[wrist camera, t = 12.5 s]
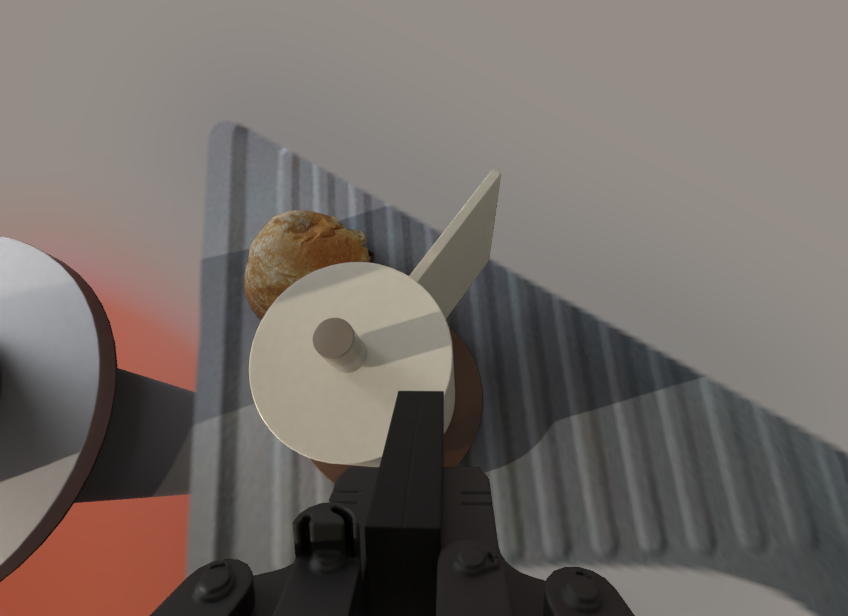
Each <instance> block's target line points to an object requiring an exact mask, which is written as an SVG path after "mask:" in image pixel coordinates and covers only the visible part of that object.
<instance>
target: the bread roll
mask: <svg viewBox="0 0 848 616" xmlns="http://www.w3.org/2000/svg"><path fill="white" fill-rule="evenodd" d="M366 241H367V238H366V237H365V235H364V232H361V231H359V230H350V229H348V228H345V226H344V225H342V224H339V222H338V220H337V219H336V218H335V217H334V216H327V215H324V214H320V213H316V212H312V211H289V212H285V213H281V214H278V215H276V216H275V217H273V218H272V219H271V220H270V221H269V222H268V223H267V224H266V225H265V226H264V227H263V229H262V230H261V231H260V233H259V234H258V235H257V236H256V238H255V239H254V241H253V243H252V245H250V250H249V257H248V259H249V262H248V263H247V264H246V270H245V277H244V282H245V294H246V298H247V300H248V303H249V305H250V307H251V309H252V310H253V311H254V313H255V314H256V315H257V316H258V318H259V319H261V320H262V319H263V317H264V316H265V314H266V312H267V311H268V309H269V308H270V307H271V305H272V304H273V303H274V302H275V300H276V299H277V298H278V297H279V296H280V295H281V294H282V293H283V292H284V291H285V290H286V289H287V288H289V287H290V286H291V285H292V284H294V283H295V282H296V281H298V280H300V279H301V278H303V277H304V276H306V275H308V274H310V273H312V272H314V271H316V270H319V269H322V268H325V267H328V266H331V265H336V264H341V263H349V262H368V263H372V261H373V258H374V253H373V252H371V251H369V250H368V249H367V247H363V246H364V244H365V243H366Z"/></svg>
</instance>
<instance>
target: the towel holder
mask: <svg viewBox="0 0 848 616" xmlns="http://www.w3.org/2000/svg"><path fill="white" fill-rule="evenodd" d="M449 330H450V335H451V339H452V347H453V362H454V381H455V406H454V411H453V415H452V418H451V422H450V424H449V426H448V428H447V430H446V432H445V434H444V467H457V466H458V464H459V463H460V462H461V461H462V460H463V458H464V457H465V455H466V454H467V452H468V451H469V449H470V447H471V445H472V443H473V441H474V439H475V436H476V434H477V431H478V428H479V424H480V420H481V414H482V406H483V393H482V383H481V379H480V374H479V371H478V368H477V365H476V363H475V360H474V358H473V356H472V354H471V353H470V351H469V349H468V348H467V346H466V345H465V343H464V342H463V341H462V339H461V338H460V337H459V336H458V335H457V334H456V333H455V332H454V331H453V330H452V329H451V328H449ZM312 343H313V347H314V349H315V351H316V352H317V353H318V354H319V355H320V356H321V357H322V358H324V359H325V360H326V361H327V362H328V363H330V364H331V365H332V366H333V367H334V368H335V369H337V370H338V371H340V372H344V373H350V372H354V371H356V370H358V369H359V368H360V367H361V366H362V365H363V364H364V362H365V360H366V357H367V349H366V346H365V344H364V343H363V341H362V340H361V339H360V337H359V336H358V335H357V333H356V332H355V330H354V329H353V328H352V326H351V325H350V324H349V323H348V322H347V321H345V320H344V319H341V318H329V319H326V320H324V321H322V322H321V323H320V324H319V325H318V326H317V327H316V329H315V330H314V333H313V337H312ZM310 459H311V458H310ZM311 461H312V462H313V463H314V465H315V466H316V467H317V468H318V469H319V470H320V471H321V472H322V473H323V474H324V475H325V476H326V477H327V478H328V479H330V480H331V481H332V482H334V483H335V484H336V481H337V479H338V477H339V476H340V475H341V474H342V473H343V472H344V471H345V470H347V469H348V468H349V467H368V466H356V465H344V464H333V463H326V462H321V461H317V460H314V459H311Z"/></svg>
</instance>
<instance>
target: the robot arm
mask: <svg viewBox="0 0 848 616" xmlns="http://www.w3.org/2000/svg"><path fill="white" fill-rule="evenodd" d="M1 389H2V372H1V366H0V397H1ZM293 532H294V543H295V554H296V559H295V561H294V563H293V564H291V565H289V566H287V567H285V568H282V569H279V570H276V571H272V572H268V573H264V574H259V575H255V576H253V573H252V571H251V569H250V567H249V566H248V564H246V563H244V562H242V561H240V560H233V559H224V560H220V561H215V562H211V563H209V564H207V565H205V566H203V567H201V568H199V569H197V570H196V571H195V572H194V573H192V574H191V575H190V576H189V577H187V578H186V579H185V580H184V581H183V582H182V583H181V584H180V585H179V586H178V587H177V589H175V590H174V591H173V592H172V594H171V595H170V596H169V597H168V598H167V599H166V600H165V601H164V602H163V603H162V604H161V605H160V606H159V607H158V608H157V609H156V610H155V611H154V612H153V613H152V614H151V615H150V616H635V615H634V614H633V613H632V611H631V610H630V608H629V607H628V606H627V604H626V603H625V601H624V600H623V599H622V597H621V596H620V595H619V593H618V592H617V590H616V589H615V588H614V587H613V586H612V585H611V584H610V583H609V582H608V581H607V580H606V579H605V578H604V577H602V576H600V575H599V574H597V573H595V572H593V571H591V570H587V569H584V568H580V567H564V568H561V569H558V570H556V571H554V572H553V573H552V574H551V575H550V576H549V577H548V578H547V580H546V581H544V580H541V579H537V578H534V577H531V576H528V575H526V574H523V573H521V572H519V571H517V570H516V569H514V568H513V567H511V566H510V565H509V564H508V563H507V562H506V561H505V560H504V558H503V557H502V555H501V553H500V550H499V547H498V540H497V533H496V526H495V519H494V511H493V506H492V497H491V490H490V483H489V478H488V477H487V476H486V475H485V473H484V472H483V471H482V470H481V469H480V467H444V391H398V394H397V398H396V402H395V406H394V410H393V414H392V418H391V422H390V426H389V430H388V434H387V439H386V443H385V447H384V451H383V455H382V459H381V463H380V467H349V468H348V469H347V470H345V471H344V472H343V473H342V474H341V475H340V476H339V477H338V479H337V481H336V484H335V486H334V489H333V493H332V494H331V497H330V499H329V503H321V504H318V505H315V506H312V507H309V508H308V509H306V510H305V511H303V512H302V513H300V514H299V515H298V516H297V518H296V519H295V520H294V522H293Z"/></svg>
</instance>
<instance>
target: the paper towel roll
mask: <svg viewBox="0 0 848 616" xmlns="http://www.w3.org/2000/svg"><path fill="white" fill-rule="evenodd" d="M500 178H501V173H499V172H498V171H496V170H493V169H492V170H491V172H490V173H489V174H488V176H487V177H486V178H485V179H484V181H483V182H482V183H481V184H480V186H479V187H478V188H477V190H476V191H475V192H474V193H473V195H472V196H471V198H470V199H469V200H468V201H467V202H466V204H465V205H464V206H463V208H462V209H461V210H460V211H459V213H458V214H457V215H456V217H455V218H454V219H453V220H452V222H451V223H450V224H449V225H448V227H447V228H446V229H445V231H444V232H443V233H442V234H441V236H440V237H439V238H438V240H437V241H436V242H435V243H434V245H433V246H432V247H431V249H430V250H429V251H428V252H427V254H426V255H425V256H424V258H423V259H422V260H421V261H420V263H419V264H418V265H417V267H416V268H415V269H414V270H413V272H412V273H411V274H410V276H407V275H406V274H404V273H402V272H400V271H398V270H395V269H393V268H390V267H387V266H384V265H380V264H374V263H368V262H349V263H341V264H336V265H331V266H328V267H325V268H322V269H319V270H316V271H314V272H312V273H310V274H308V275H306V276H304V277H303V278H301V279H300V280H298V281H296V282H295V283H294V284H292V285H291V286H290V287H289V288H287V289H286V290H285V291H284V292H283V293H282V294H281V295H280V296H279V297H278V298H277V299H276V300H275V302H274V303H273V304H272V305H271V307H270V308H269V309H268V311H267V312H266V314H265V316H264V317H263V319H262V321H261V323H260V325H259V327H258V329H257V331H256V334H255V337H254V340H253V343H252V348H251V353H250V362H249V378H250V386H251V391H252V396H253V399H254V402H255V404H256V407H257V410H258V411H259V413H260V415H261V417H262V419H263V421H264V422H265V424H266V425H267V426H268V428H269V429H270V430H271V432H272V433H273V434H274V435H275V436H276V437H277V438H278V439H279V440H280V441H281V442H283V443H284V444H285V445H287V446H288V447H289V448H291V449H292V450H294V451H296V452H298V453H299V454H301V455H303V456H306V457H309V458H311V459H314V460H317V461H321V462H326V463H333V464H344V465H356V466H368V467H380V463H381V459H382V455H383V451H384V447H385V443H386V439H387V434H388V430H389V426H390V422H391V418H392V414H393V410H394V406H395V402H396V398H397V394H398V391H444V434H445V432H446V430H447V428H448V426H449V424H450V422H451V418H452V415H453V411H454V406H455V381H454V362H453V347H452V339H451V335H450V330H449V327H448V324H447V322H446V319H447V317H448V316H449V315H450V313H451V312H452V310H453V309H454V308H455V306H456V305H457V304H458V302H459V301H460V300H461V298H462V297H463V296H464V294H465V293H466V291H467V290H468V289H469V287H470V286H471V285H472V283H473V282H474V281H475V279H476V278H477V277H478V275H479V274H480V272H481V271H482V270H483V268H484V267H485V266H486V264H487V263H488V262H489V258H490V250H491V243H492V236H493V229H494V221H495V214H496V207H497V200H498V192H499V186H500ZM329 318H341V319H344V320H345V321H347V322H348V323H349V324H350V325H351V326H352V328H353V329H354V330H355V332H356V333H357V335H358V336H359V337H360V339H361V340H362V341H363V343H364V344H365V346H366V349H367V357H366V360H365V362H364V364H363V365H362V366H361V367H360V368H359V369H358V370H356V371H354V372H350V373H344V372H340V371H338V370H337V369H335V368H334V367H333V366H332V365H331V364H330V363H328V362H327V361H326V360H325V359H324V358H322V357H321V356H320V355H319V354H318V353H317V352H316V351H315V349H314V347H313V343H312V337H313V333H314V330H315V329H316V327H317V326H318V325H319V324H320V323H321V322H322V321H324V320H326V319H329Z"/></svg>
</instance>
